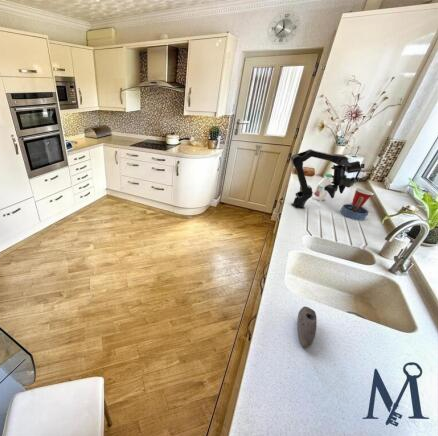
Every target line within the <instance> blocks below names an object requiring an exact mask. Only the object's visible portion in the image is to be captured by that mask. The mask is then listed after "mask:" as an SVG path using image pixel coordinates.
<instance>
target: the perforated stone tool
mask: <svg viewBox="0 0 438 436" xmlns="http://www.w3.org/2000/svg"><path fill="white" fill-rule="evenodd" d="M317 320H318V319H317V313H316V311H315V310H314V309H312V308H311V307H309V306H305V305H304V306H303V307H301V308H300V310H299V311H298V314H297V320H296V321H297V322H296V328H297V329H296V330H297V337H298V341H299V344H300V347H301V348H302V349H304V350H307V349H309V348H310V347H311V346H312V344H313V343H314V341H315V337H316V334H317V328H318V327H317Z"/></svg>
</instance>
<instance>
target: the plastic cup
mask: <svg viewBox="0 0 438 436" xmlns="http://www.w3.org/2000/svg"><path fill="white" fill-rule="evenodd" d="M374 194H375V193H373V192H372V191H370V190H368V189H365V188H358V187H356V188H355V191H354V195H353V198H352V201H351V205H356V203H357V201H358V200H359V198H360V197H364V199H363V201H362V203H361V204H360V206H359V207H363V205H364V204H365V203H367V201H368V200H369V199H370V198H371V197H372V196H374Z"/></svg>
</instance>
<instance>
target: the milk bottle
mask: <svg viewBox="0 0 438 436" xmlns="http://www.w3.org/2000/svg"><path fill="white" fill-rule="evenodd" d="M333 175H334V174H332V173H325V174H324V177H323V178H322V180H320V181H319V183H318V184H317V185H316V186H317V187H316V188H315V191H314V192H313V194H312V198H313V199H314V200H317V201H321V202H322V201H324V200H325V199H326V197H327V195H328V194H329V193H328V192H327V191H326V190H324V187H325V186H327V185H329V184H330V185H332V183H331V182H332V181H331V179H333V178H332V176H333Z"/></svg>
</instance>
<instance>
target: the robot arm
mask: <svg viewBox="0 0 438 436" xmlns="http://www.w3.org/2000/svg"><path fill="white" fill-rule="evenodd" d="M310 158H316V159H319V160H324V161H329V162H331V163H333V164H332V165H331V166H330V167H329V168H330V169H331V170H333V174H332V175H333V176H332V178H331V179H332V181H331V185H330V184H329V185H327V186H325V187H324V190H326V191H327V192H328V193H327V194H328V195H329V197H330V198H331V199H334V198H335V194H336V192H337V191H339V194H343V192H344V191H345V189H346V188H349V189H350V188H352V187H353V186H354V184H356V177H354V176H352V177H347V176H348V175H346V173H347V174H352V173H360V172H361V171H362V165H361V162H360V161H359V160H356V161H352V162H351V161H350V162H349V157H347V156H345V155H344V154H340V153H327V152H322V151H317V150H314V149H307V150H305V151H302V152H298V153H295V154H293V155H291V156H290V158H289V161H290V163H291V164H292V166H293V167H294V169H295V172H296V176H297V178H298V182H299V191H297V192H296V193H295V197H294V200H293V202H291V203H290V205H292V206H293V207H294V208H295V209H305V205H306V203H307V201H308V200H309V199H310V198H312V197H313V194H314V191H313V188H312V186H310V184H308V183H307V178H306V175H305V171H304V168H303V166H304V162H306V161H307V160H309V159H310Z"/></svg>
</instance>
